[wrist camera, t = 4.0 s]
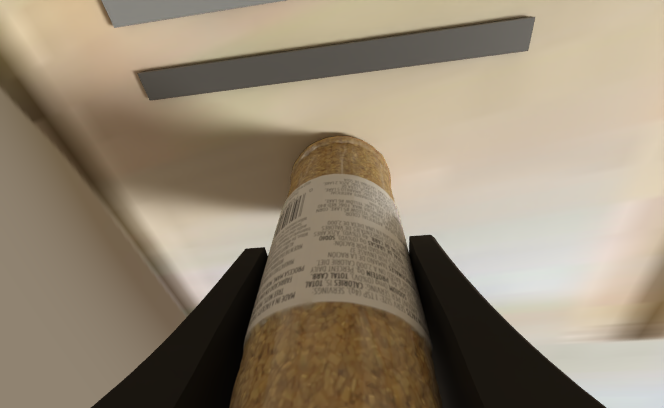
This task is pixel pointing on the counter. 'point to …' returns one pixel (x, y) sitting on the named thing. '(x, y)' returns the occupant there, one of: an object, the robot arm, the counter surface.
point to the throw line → (341, 59)
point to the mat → (168, 9)
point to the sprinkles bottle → (338, 295)
